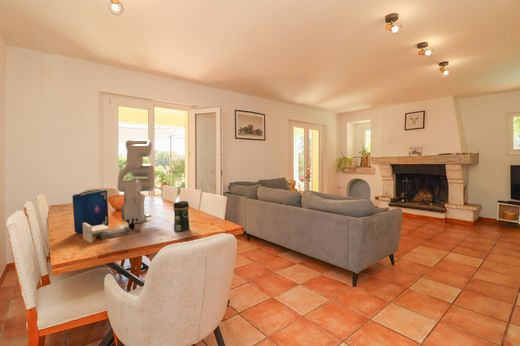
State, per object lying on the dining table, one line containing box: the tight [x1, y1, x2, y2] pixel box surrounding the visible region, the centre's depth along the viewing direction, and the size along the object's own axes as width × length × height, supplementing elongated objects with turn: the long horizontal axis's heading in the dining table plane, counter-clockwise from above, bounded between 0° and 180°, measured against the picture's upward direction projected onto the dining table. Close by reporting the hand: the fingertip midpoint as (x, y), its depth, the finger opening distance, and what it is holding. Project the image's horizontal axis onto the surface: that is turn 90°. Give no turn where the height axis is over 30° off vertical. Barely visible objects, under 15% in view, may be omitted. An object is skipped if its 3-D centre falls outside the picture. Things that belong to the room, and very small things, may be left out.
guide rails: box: [108, 229, 142, 239], centre depth 158 cm, size 18×10×1 cm, turn 138°
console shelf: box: [82, 223, 111, 244], centre depth 147 cm, size 10×12×9 cm
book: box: [71, 189, 110, 234], centre depth 166 cm, size 22×7×25 cm, turn 168°
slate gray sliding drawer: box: [97, 226, 132, 240], centre depth 154 cm, size 16×7×3 cm, turn 138°
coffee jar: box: [173, 200, 190, 232], centre depth 165 cm, size 10×8×19 cm
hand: (131, 229), depth 162 cm, fingers closed
